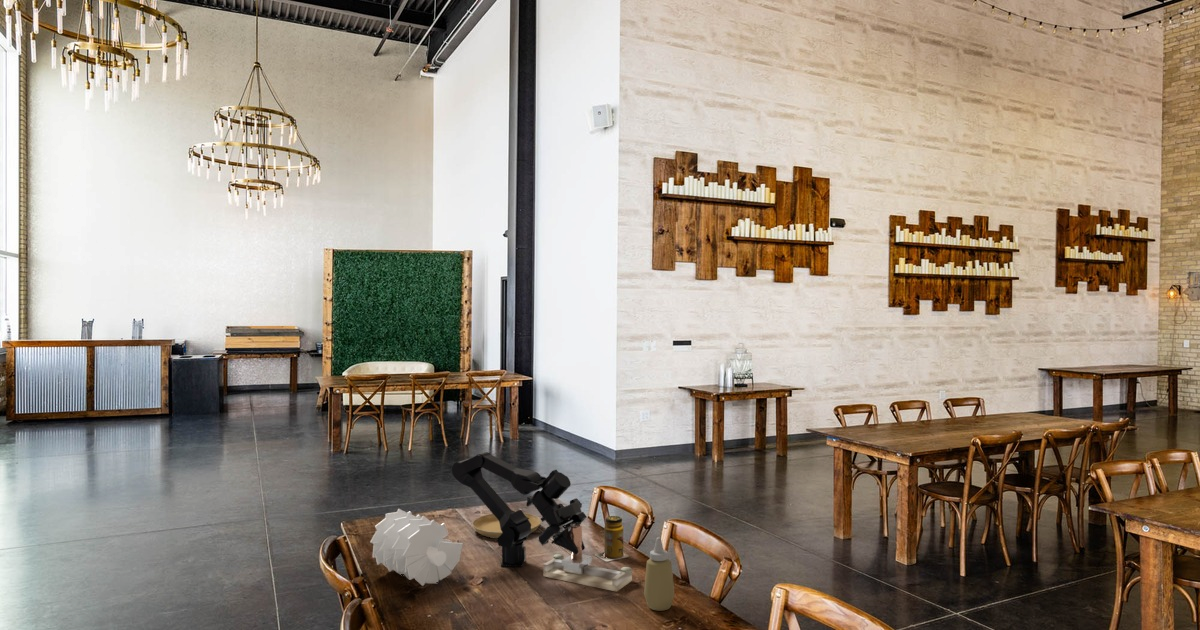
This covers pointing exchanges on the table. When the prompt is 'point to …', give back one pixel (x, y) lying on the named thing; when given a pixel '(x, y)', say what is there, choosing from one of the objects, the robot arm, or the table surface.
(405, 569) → the spiral staircase
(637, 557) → the table surface
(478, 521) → the plant saucer
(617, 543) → the condiment
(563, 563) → the carriage
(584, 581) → the rail
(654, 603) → the squeeze bottle
